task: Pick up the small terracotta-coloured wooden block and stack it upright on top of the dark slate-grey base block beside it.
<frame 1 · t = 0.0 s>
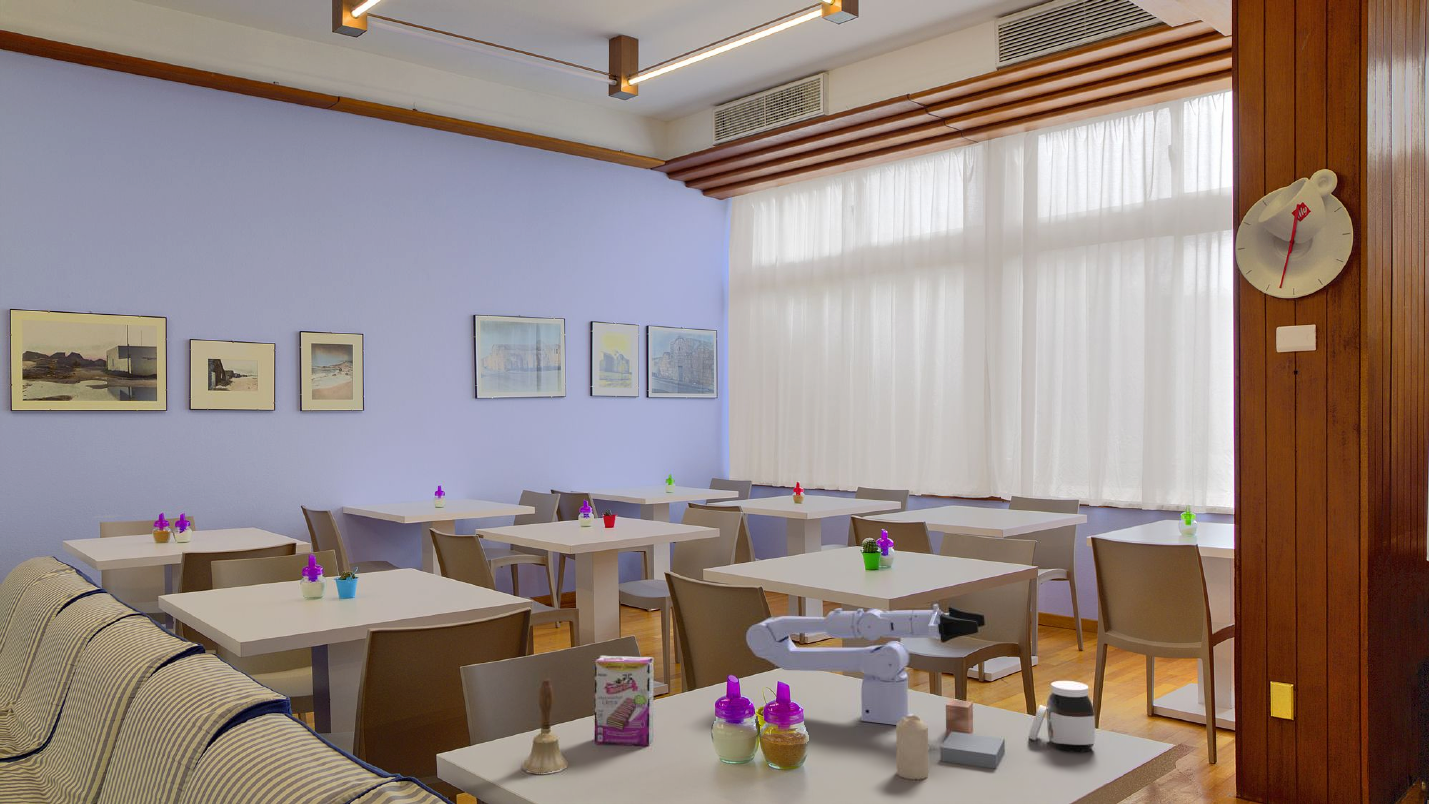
hand: (981, 623, 192), 22 cm above the table, tool horizontal, fingers open, 7 cm apart
block: (959, 733, 191), on the table
candle: (912, 775, 167), on the table
spread jar: (1059, 745, 183), on the table
candy bar box: (624, 743, 186), on the table
hand bell: (545, 768, 173), on the table
base: (973, 756, 177), on the table
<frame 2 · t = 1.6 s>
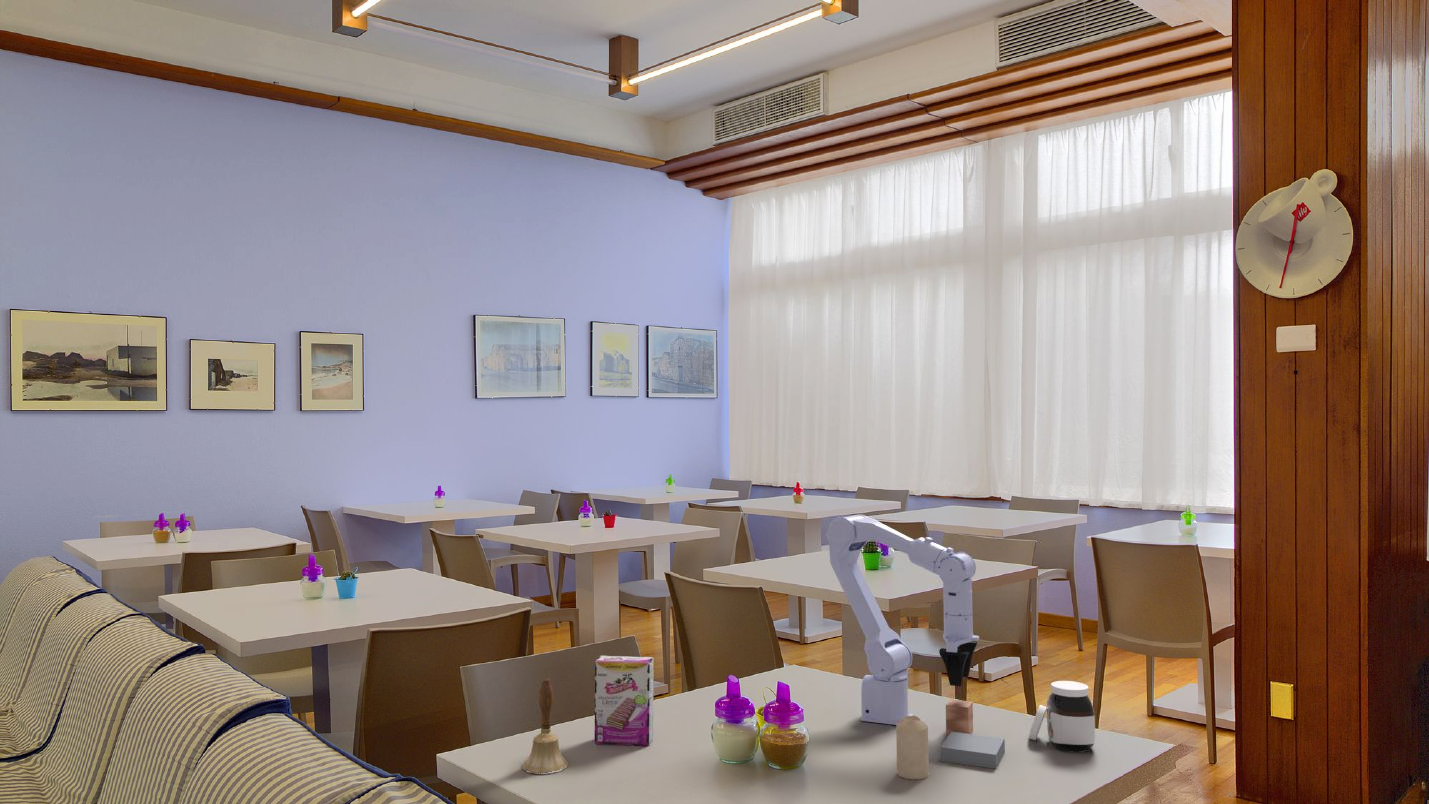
hand: (959, 681, 191), 10 cm above the table, tool pointing down, fingers open, 7 cm apart
nothing on the table moved.
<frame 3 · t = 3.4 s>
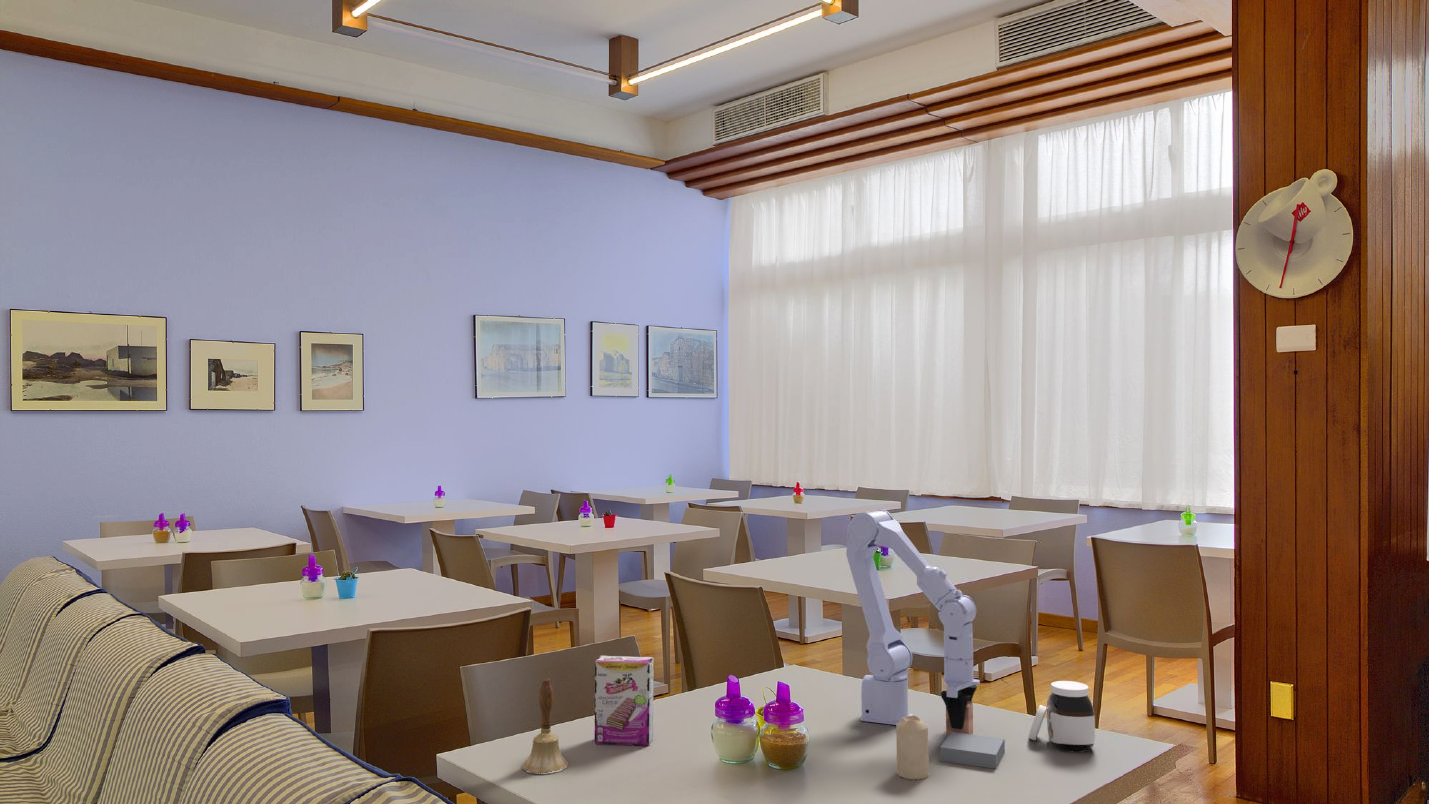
hand: (959, 724, 191), 2 cm above the table, tool pointing down, fingers closed on block, 4 cm apart
block: (959, 733, 191), on the table, touching gripper
everything else where it was.
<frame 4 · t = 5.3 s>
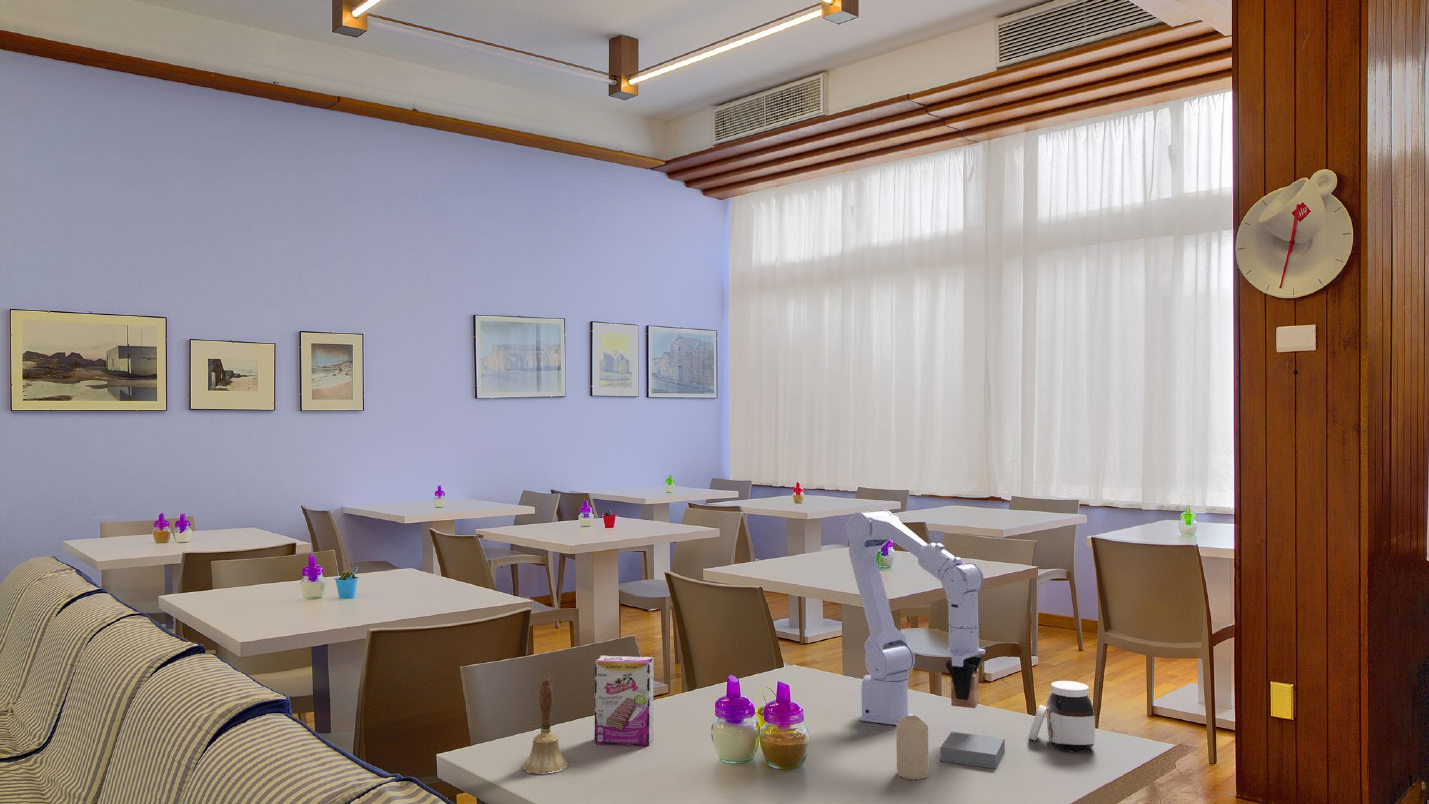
hand: (964, 695, 185), 9 cm above the table, tool pointing down, fingers closed on block, 4 cm apart
block: (965, 704, 185), point 7 cm above the table, touching gripper
everything else where it was.
when the fingers open (5 cm above the table, at t = 7.4 s): block stays where it is, resting on base.
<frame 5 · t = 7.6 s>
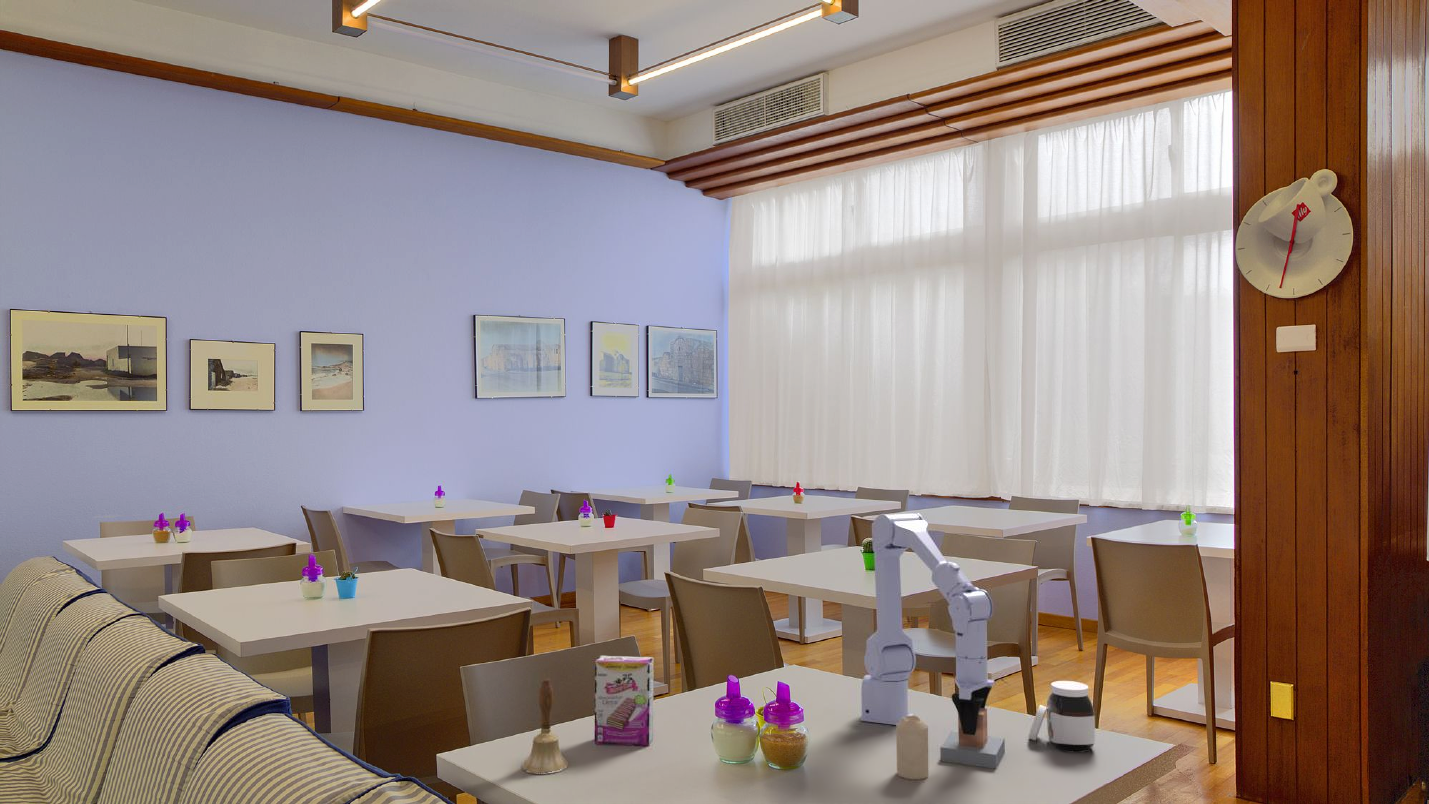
hand: (972, 728, 177), 5 cm above the table, tool pointing down, fingers open, 6 cm apart
block: (973, 742, 177), point 2 cm above the table, touching base
everything else where it was.
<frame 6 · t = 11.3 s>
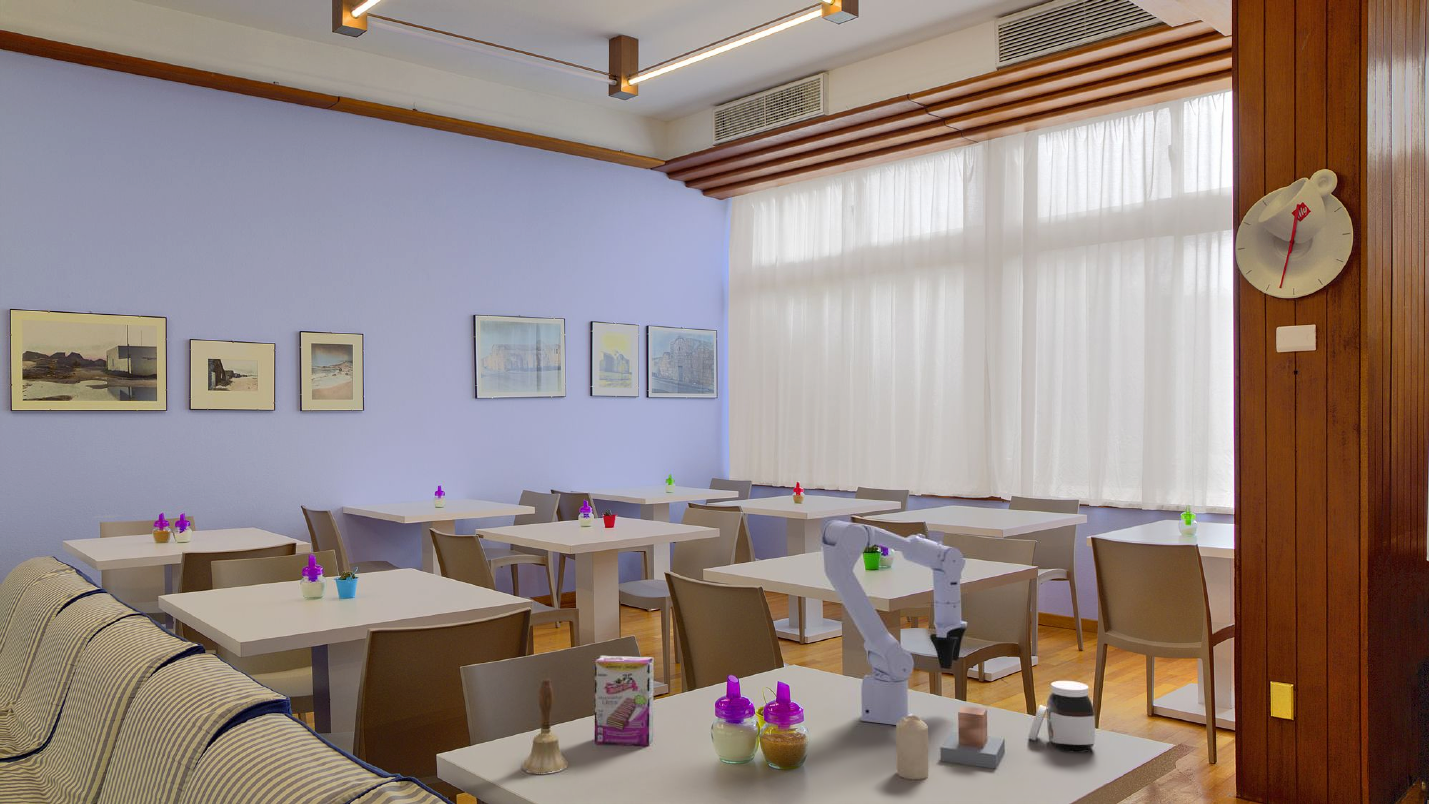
hand: (949, 664, 205), 10 cm above the table, tool pointing down, fingers open, 7 cm apart
nothing on the table moved.
at the end: block 0.1 cm off-centre on the base, point 2.5 cm above the base's base; block tilted 0°; the gripper is holding nothing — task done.
